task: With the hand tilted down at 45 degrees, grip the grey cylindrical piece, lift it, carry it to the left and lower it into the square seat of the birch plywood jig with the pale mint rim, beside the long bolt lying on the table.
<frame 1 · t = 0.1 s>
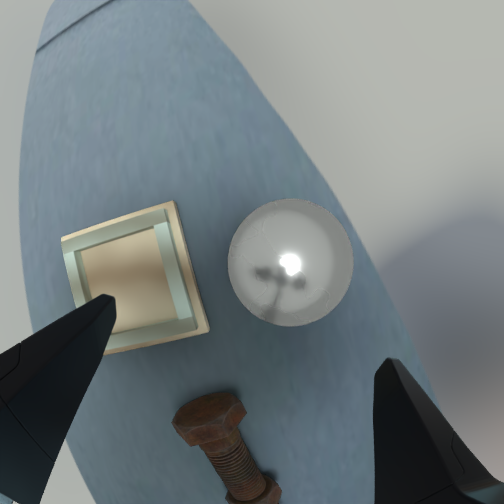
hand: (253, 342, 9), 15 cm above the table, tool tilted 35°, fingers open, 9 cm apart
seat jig: (132, 282, 24), on the table
grey cylindrical piece: (265, 259, 24), on the table
bolt: (238, 459, 24), on the table
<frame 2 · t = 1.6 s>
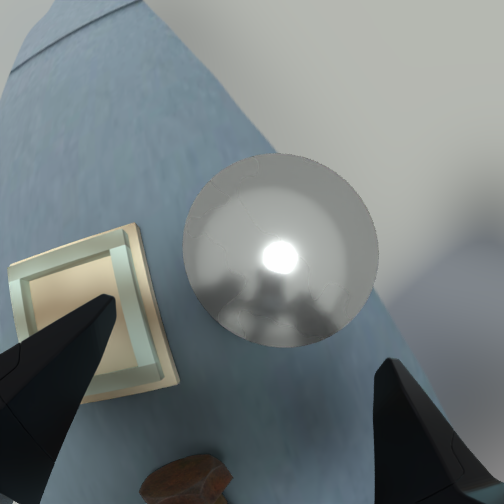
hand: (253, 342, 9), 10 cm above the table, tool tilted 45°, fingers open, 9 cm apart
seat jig: (87, 321, 18), on the table
grey cylindrical piece: (247, 294, 20), on the table
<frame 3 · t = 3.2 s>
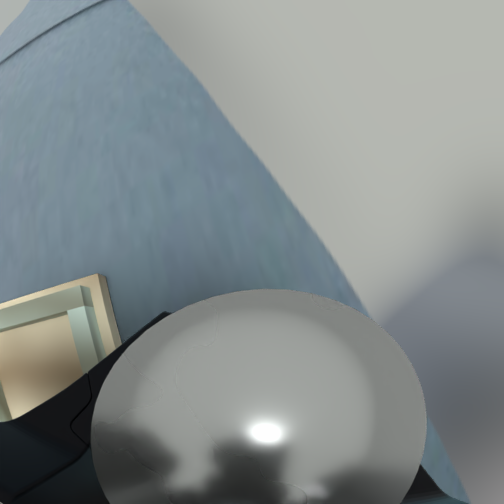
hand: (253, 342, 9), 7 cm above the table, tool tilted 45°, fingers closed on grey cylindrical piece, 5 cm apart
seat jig: (54, 383, 14), on the table
grey cylindrical piece: (235, 360, 16), on the table, touching gripper
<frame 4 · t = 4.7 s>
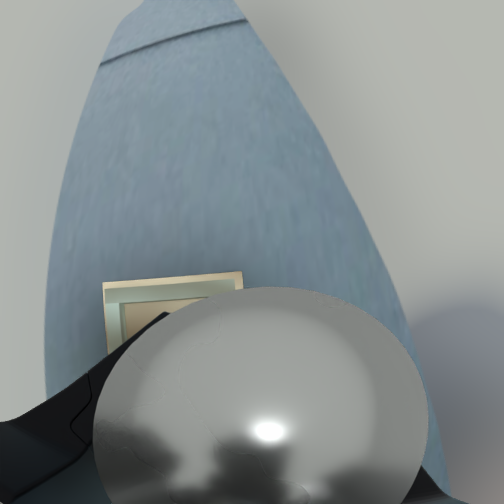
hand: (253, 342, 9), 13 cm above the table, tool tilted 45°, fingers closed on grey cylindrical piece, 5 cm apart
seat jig: (178, 348, 22), on the table
grey cylindrical piece: (236, 359, 16), point 7 cm above the table, touching gripper
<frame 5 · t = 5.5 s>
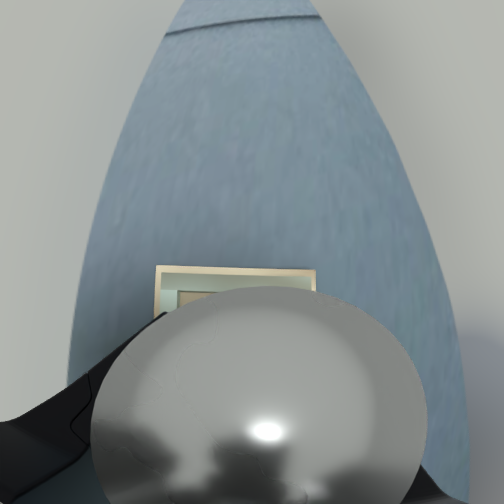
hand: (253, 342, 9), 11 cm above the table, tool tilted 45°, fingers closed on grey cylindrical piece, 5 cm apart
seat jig: (234, 347, 20), on the table
grey cylindrical piece: (235, 359, 16), point 4 cm above the table, touching gripper
when the fingers open (9 cm above the table, at t = 6.2 s): grey cylindrical piece drops 1 cm, resting on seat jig.
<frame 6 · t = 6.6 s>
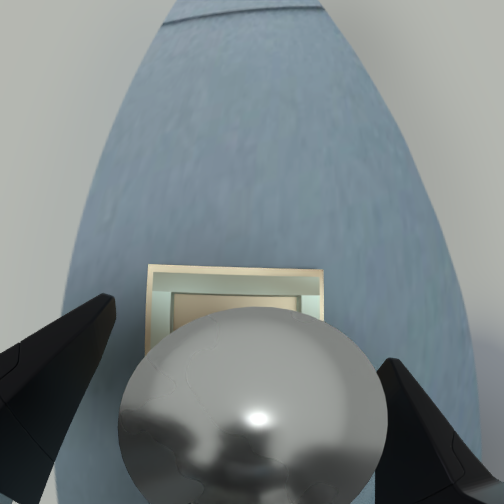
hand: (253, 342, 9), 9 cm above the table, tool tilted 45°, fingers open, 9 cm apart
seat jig: (234, 355, 18), on the table
grey cylindrical piece: (234, 360, 17), point 1 cm above the table, touching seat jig
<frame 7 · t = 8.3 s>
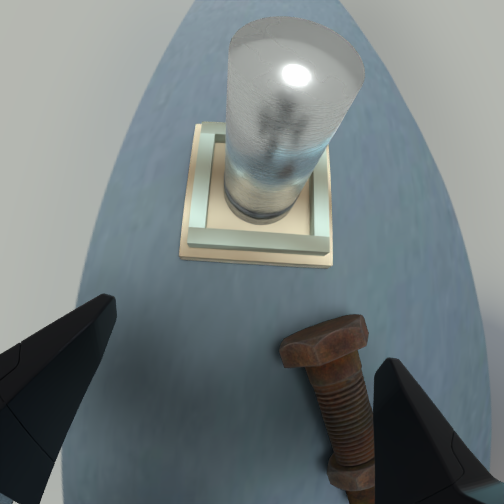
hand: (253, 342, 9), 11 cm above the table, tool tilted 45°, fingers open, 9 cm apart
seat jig: (258, 195, 23), on the table
grey cylindrical piece: (260, 190, 21), point 1 cm above the table, touching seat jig
bolt: (338, 421, 20), on the table
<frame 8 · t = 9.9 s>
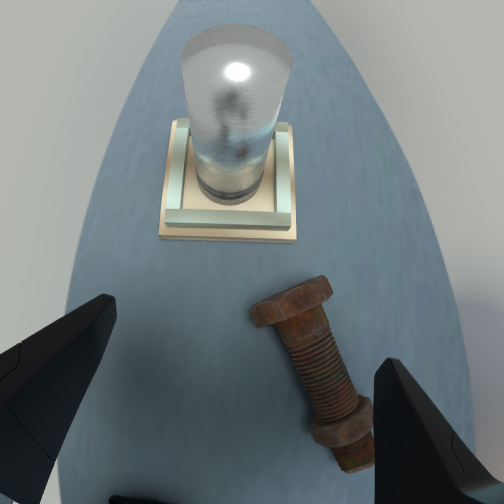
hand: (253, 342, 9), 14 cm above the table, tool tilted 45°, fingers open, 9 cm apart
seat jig: (229, 180, 25), on the table
grey cylindrical piece: (229, 175, 24), point 1 cm above the table, touching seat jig
bolt: (317, 381, 23), on the table
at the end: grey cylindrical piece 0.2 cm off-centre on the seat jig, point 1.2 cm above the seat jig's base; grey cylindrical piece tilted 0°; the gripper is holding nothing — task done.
